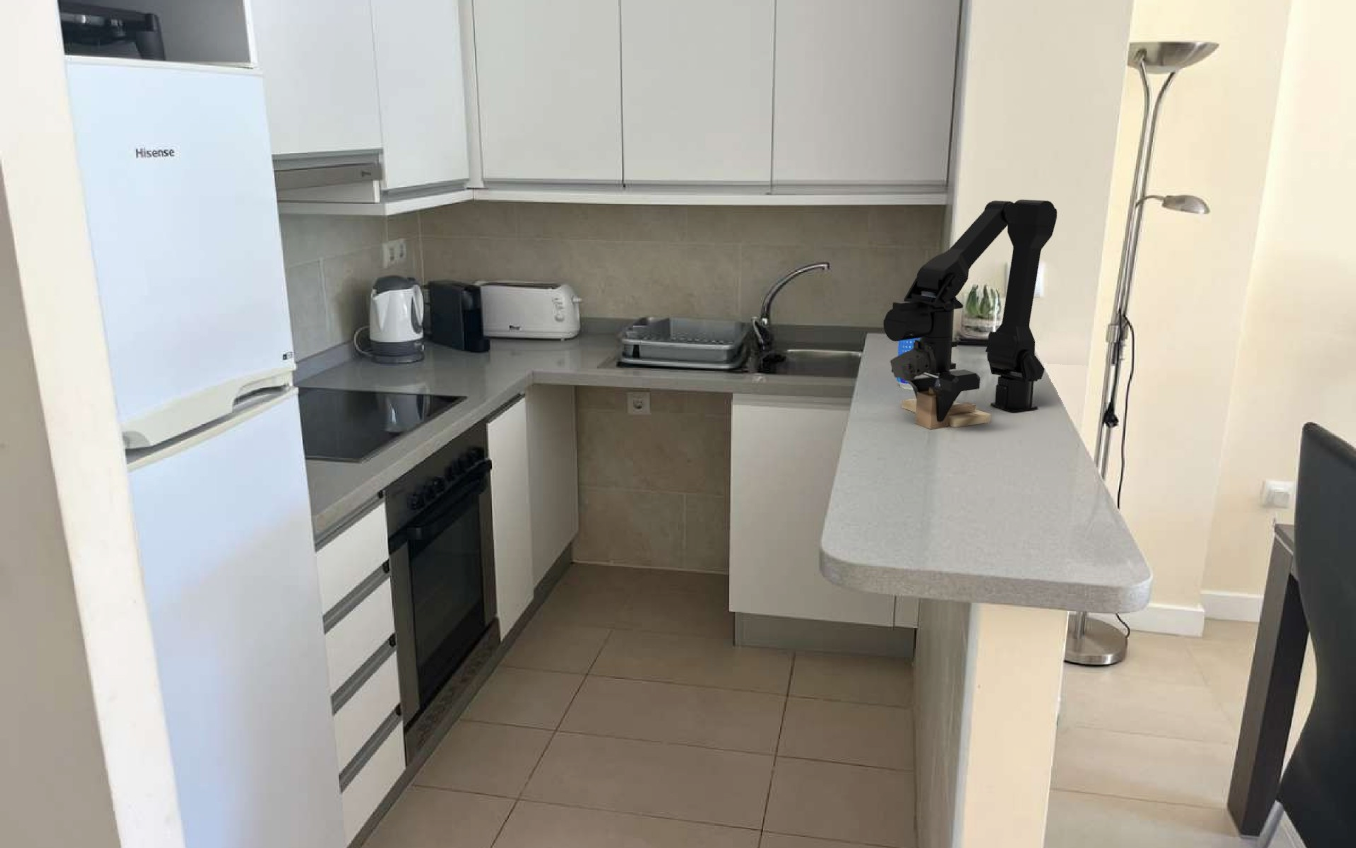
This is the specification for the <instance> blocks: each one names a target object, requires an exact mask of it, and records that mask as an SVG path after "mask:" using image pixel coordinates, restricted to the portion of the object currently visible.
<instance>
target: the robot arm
mask: <svg viewBox="0 0 1356 848" xmlns="http://www.w3.org/2000/svg"><path fill="white" fill-rule="evenodd" d="M1057 220H1058V210H1057V208H1055V205H1054V204H1053V202H1052V201H1049V200H1041V199H1039V200H1038V199H1037V200H1036V199H1018V200H1016V201H1015V202H1013V201H1010V200H992V201H989V202H988V203H987V204H986V205H985V206H984V210H983V211H982V212H981V214H980V215H979V216H978V217H977V218H976V219H975V220H974V221H973V222H972V223H971V225H969V227H968V228H967V229H965V230H966V231H965V232H964V233H962V235H961V236H960V237H959V238H958V239H957V240H956V241H955V242H954V244H953V245H952V246H951V247H950V248H949V249H948V250H946V251H945V252H943V253H940V254H938V255H936V256H933V257H932V258H930V260H928V261H927V262H925V264H923V265H922V266H921V267H920V268H919V270H918V271H917V274H916V278H915V279H914V281H913V283H912V284H911V286H910V287H909V290H908V292H907V293H906V295H905V296H904V299H903V301H893V303H892V308H891V309H890V310H888V311H887V313H886V314H885V317H884V319H883V324H882V325H883V330H884V332H885V335H886V337H887V338H888V339H889V340H891V341H892V342H898V341H902V340H909V339H915V338H920V339H917V340H915V342H914V343H913V349H912V350H910V351H907V352H905V353H903V354H901V355H899V356H898V355H897V356H896V357H893V358H891V359H890V360H889V363H890V366H891V373H893V376H894V378H895V379H897V378H901V379H903V380H905V381H907V382H908V383H909V384H910V385H911V386H912V387H913V390H912V391H913V392H914V394H915V398H916V399H917V392H921V391H928V390H929V387H931V389H932V390H933V391H934V393H935V394H936V415H937V421H938V422H942V421H943V420H944V419H945V417H946V415H947V413H948V412H949V410H950V408H951V406H952V405H953V403H954V402H956V400H957V398H958V397H960V394H961V393H962V392H966V391H974V390H980V387H981V386H980V385H981V377H980V375H978V374H977V372H973V371H970V370H966V369H958V370H956V369H957V363H955V362H952V354H953V351H952V350H953V348H956V347H958V340H955V339H953V335H954V320H955V319H954V317H955V316H954V315H955V310H960V309H963V308H964V304H963V303H962V301H960V300H958V298H957V297H956V296H958V295H959V294H960V292H961V291H962V289H963V287H964V286H965V285H966V283H967V282H968V281H969V273H970V269H971V268H972V266H973V265H974V264H975V262H976V261H977V260H978V259H979V258H980V257H981V256H982V254H984V253H985V251H986V250H987V249H988V248H989V247H990V245H991V244H993V242H994V241H995V240H996V239H997V238H998V237H999V235H1000V234H1001V233H1002V232H1003V231H1004V230H1005V229H1007V231H1006V232H1007V235H1008V237H1009V240H1010V242H1011V244H1012V255H1011V261H1010V267H1009V275H1008V282H1007V287H1006V293H1005V300H1004V308H1003V313H1002V314H1003V315H1002V319H1001V320H1002V321H1001V324H1000V325H998V328H997V329H995V331H989V333H988V336H987V345H986V348H985V353H986V358H987V362H988V364H989V369H990V373H991V375H994V376H995V375H996V376H997V384H996V385H995V393H994V394H995V395H994V397H995V398H994V401H993V402H990V406H991V407H994V408H997V409H1001V410H1003V411H1007V412H1009V413H1017V412H1025V411H1031V410H1038V408H1039V406H1038V405H1035V404H1033V399H1034V398H1033V397H1034V384H1035V382H1038V380H1042V379H1043V375H1044V373H1045V367H1044V366H1043V364H1042V363H1041V361H1040V360H1039V359H1038V358H1037V355H1036V353H1035V352H1036V340H1035V338H1034V335H1033V332H1032V330H1031V328H1030V324H1031V322H1030V321H1031V316H1032V311H1033V304H1034V296H1035V289H1036V284H1037V279H1038V273H1039V272H1038V271H1039V265H1040V259H1041V252H1042V249H1043V248H1044V246H1046V244H1047V243H1048V242H1049V240H1050V239H1051V238H1052V236H1053V233H1054V230H1055V226H1056V223H1057ZM1006 227H1007V228H1006ZM936 380H937V381H938V385H936V384H937V383H936Z"/></svg>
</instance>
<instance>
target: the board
mask: <svg viewBox="0 0 1356 848" xmlns="http://www.w3.org/2000/svg"><path fill="white" fill-rule="evenodd" d="M916 400H917V399H916V397H915V398H909V399H902V409H905V410H908V411H910V412H913V413H915V414H916ZM955 404H960V403H958V402H956V401H954V403H953V405H955ZM990 422H991V413H988V412H986V411H985V412H984V411H982V410H979V409H977V408H975V411H969V412H962V413H955V414H949V419H948V426H949V427H953V428H960V427H967V426H973V425H979V424H985V423H986V424H987V423H990Z"/></svg>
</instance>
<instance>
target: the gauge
mask: <svg viewBox="0 0 1356 848" xmlns="http://www.w3.org/2000/svg"><path fill="white" fill-rule="evenodd" d="M975 409H976V405H975V404H972V403H969V402H964V403H963V402H962V403H959V404H955V405H952V406H951V408H950V410H949V412H948V413H947V415H946V417H945V419H944V420H943V421H942V422H938V421H937V415H936V394H935V393H934V391H933V390H932V389H931V387H929V390H928V391H921V392H917V400H916V413H915V424H916V425H918V426H921V427H923V428H926V429H930V430H934V429H941V428H946V427H947V428H948V427H949V425H948V419H949V414H955V413H962V412H969V411H975Z"/></svg>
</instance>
